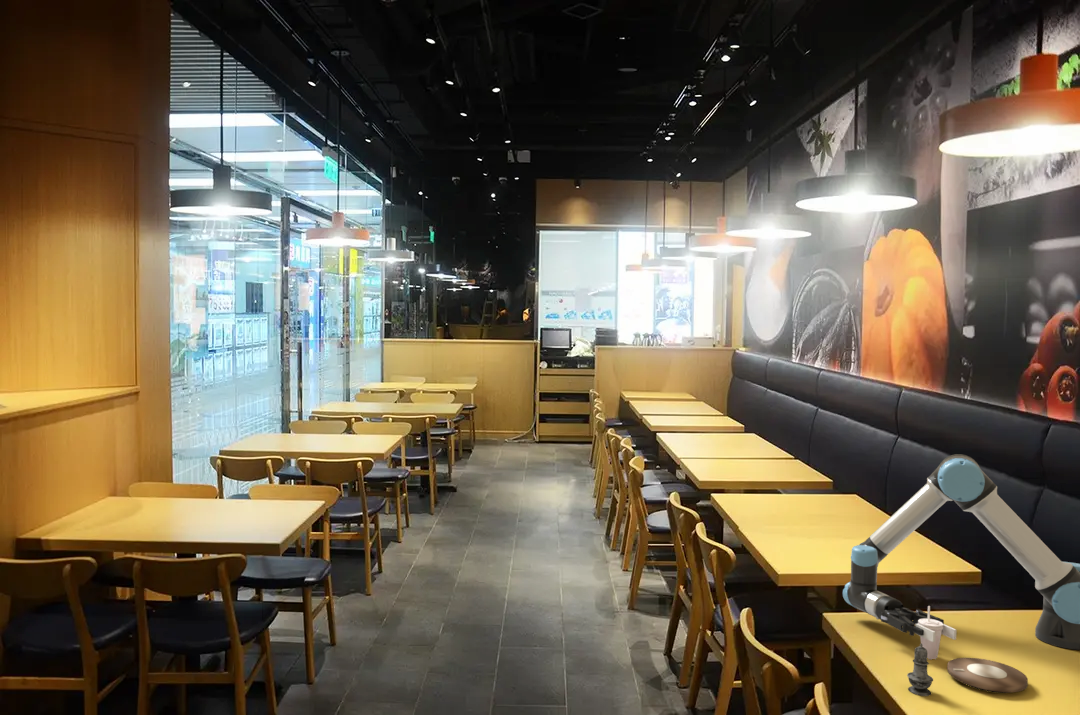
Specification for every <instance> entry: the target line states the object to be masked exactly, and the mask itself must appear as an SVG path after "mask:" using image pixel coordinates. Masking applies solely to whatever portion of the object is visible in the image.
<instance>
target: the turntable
mask: <svg viewBox="0 0 1080 715" xmlns="http://www.w3.org/2000/svg"><path fill="white" fill-rule="evenodd" d="M946 668H947V669H946V670H947V673H948V675H949V676H951V677H952V678H953V679H955V680H956V681H959V682H961V683H962V684H964V683H965V684H964V685H966V684H967V685H966V686H968V685H970V686H973V687H977V688H980V689H985V690H990V691H996V692H1011V693H1017V692H1022V691H1024V690H1026V689H1027V688H1028V686H1029V682H1028V681H1029V680H1028V679H1029V678H1028V677H1027V675H1026V674H1025V673H1024V672H1022V671H1021V670H1019V669H1018V668H1015V667H1013V666H1010V665H1007V664H1005V663H1001V662H1000V661H999V662H998V661H995V660H991V659H986V658H978V657H957V658H953V659H950V660H949V661H948V663H947V667H946ZM970 686H969V687H970ZM973 687H972V688H973Z"/></svg>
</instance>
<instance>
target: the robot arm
mask: <svg viewBox="0 0 1080 715" xmlns="http://www.w3.org/2000/svg"><path fill="white" fill-rule="evenodd" d="M926 480H927V481H926V483H925V484H924V486H922V487H921V488H920V489H919V490H918V491H917V492H915V494H913V496H911V497H910V499H908V500H907V501H906V502H905V503H904V504H903V505H902V506H901V507H900V508H898V509H897V511H895V512H894V513H893V514H892V515H891V516H890V517H889V518H888V519H887V520H886V521H885V522H883V524H881V525H880V526H879V527H878V528H877V529H876V530H875V531H874V532H873V533H872V534H871V535H870V536H869V537H867V539H865V540H864V541H863V542H861V543H859V544H856V545H854V546H852V548H851V554H850V559H851V560H850V581H849V582H847V583H846V584H845V585H844V588H843V589H842V597H843V599H844V601H845V603H847V604H848V605H850V606H852V607H853V608H855V609H857V610H858V611H859V610H860V611H862V612H864V613H866V614H868V615H870V616H873V617H874V618H876V620H880V622H882V623H885V624H888V625H889V626H891V627H893V628H895V630H898V631H900V632H902V633H903V634H907V633H909V636H911V637H913V636H914V637H915V634H916V635H917V636H919V637H920V636H921V637H923V638H925V639H927V640H930V641H932V642H935V631H932V630H930V629H928V628H926V627H924V626H922V625H920V624H918V620H919V619H923V618H927V619H928V612H925V611H923V610H921V609H920V608H916V609H915V611H914V610H911V609H909V608H907V607H905V606H904V605H903V602H901V601H900V600H899V599H896V597H895V598H894V597H892V596H890V595H888V594H886V593H884V592H882V591H879V590H877V587H878V586H877V585H878V582H877V581H878V580H877V579H878V567H879V564H880V563H881V562H882V561H883V560H884V559H885V558H886V557H887V556H888V555H889V554H890V553H891V552H892V551H893V550H895V549H896V547H898V546H899V545H900V544H901V543H903V541H905V539H907V538H908V537H909V536H910V535H911V534H912V533H914V531H915V530H917V529H918V528H919V527H920V526H921V525H923V523H924V522H925V521H927V520H928V519H929V518H930V517H931V516H932V515H933V514H934V513H935V512H936V511H937V510H939V508H941V507H942V506H943V505H944V504H946V502H949V501H950V502H952V501H954V502H955V504H957V506H959V508H960V509H961V510H962V511H963V512H967V513H968V512H969V513H972V514H973V515H974V516H975V517H976V518H977V520H979V522H980V523H982V524H983V526H985V528H986V529H987V530H988V531H989V532H990V533H991V534H992V535H993V536H994V537H995V538H996V540H998V542H999V543H1000V544H1001V545H1002V546H1003V547H1004V548H1005V549H1006V550H1007V551H1008V552H1009V553H1010V554H1011V556H1012V557H1014V559H1015V560H1016V561H1017V562H1018V563H1019V564H1020V565H1021V566H1022V567H1023V569H1025V571H1027V572H1028V573H1029V575H1030V576H1031V577H1032V578H1033V579H1034V580H1035V582H1034V587H1035V589H1036V590H1037V591H1038V593H1040V595H1042V596H1043V600H1042V601H1043V604H1042V612H1041V615H1040V617H1039V619H1038V621H1037V624H1036V626H1035V633H1034V634H1035V637H1036V638H1037V639H1038V640H1040V641H1042V642H1044V643H1046V644H1049V645H1051V646H1054V647H1057V648H1058V647H1059V648H1063V649H1068V650H1076V651H1077V650H1078V651H1080V563H1076V562H1070V561H1069V562H1068V561H1062V560H1061V559H1060V558H1059V557H1058V556H1057V555H1056V554H1055V553H1054V552H1053V551H1052V550H1051V549H1050V548H1049V547H1048V545H1046V544H1045V543H1044V542H1043V540H1041V538H1040V537H1039V536H1038V535H1037V534H1036V533H1035V532H1034V531H1033V530H1032V529H1031V528H1030V527H1029V526H1028V524H1026V523H1025V522H1024V521H1023V520H1022V519H1021V517H1020V516H1018V515H1017V513H1016V512H1015V511H1014V510H1013V509H1012V508H1011V507H1010V506H1009V505H1008V504H1007V503H1006V502H1005V501H1004V500H1003V498H1001V497H1000V496H999V494H998V486H997V484H995V482H993V480H992V479H991V478H989V476H988V475H987V474H986V473H985V472H984V471H983V470H982V469H981V467H980V465H979V464H978V462H977V461H976V460H975V459H974V458H972V457H971V456H968V455H966V454H957V453H956V454H952V455H948V456H947V457H945V458H944V459H943V460H942V461H941V462H940V464H939V465H938V466H937V468H935V469H934V470H933V472H932V473H931V474H930V475H929V476H928V477H927V478H926ZM930 619H934V620H937V621H940V622H942V623H943V627H944V628H943V629H942V632H941V635H942V636H945V637H947V638H949V639H951V640H954V641H955V640H957V629H955V628H953V627H952V626H949V625H947V624H945V620H944V619H943V618H941V617H937V616H935V615H933V614H930Z"/></svg>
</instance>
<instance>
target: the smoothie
mask: <svg viewBox="0 0 1080 715" xmlns="http://www.w3.org/2000/svg"><path fill="white" fill-rule="evenodd" d="M927 613H928V619H927V618H923V619H919V620H918V624H920V625H922V626H924V627H926V628H928V629H930V630H932V631H935V642H932V641H930V640H927V639H925V638H923V637H921V636H919V637H920V644H922V645H923V646H922V647H924V648H925V649H926V650H927V658H928V659H927V660H932V659H935V660H937V659H938V655H939V649H940V643H941V637H942V634H941V632H942V629H943V628H944V627H943V623H942V622H940V621H937V620H934V619H930V615H931V606H930V605H928V606H927ZM936 658H937V659H936Z"/></svg>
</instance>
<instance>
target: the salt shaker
mask: <svg viewBox="0 0 1080 715" xmlns="http://www.w3.org/2000/svg"><path fill="white" fill-rule="evenodd" d="M922 646H923V645H922V644H921V643H920V644H919V646H917V647H915V648H914V659H912V662H913V670H912V672H907V675H906V676H907V678H908V682H909V684H910V685H911V686H909V687H907V690H908V692H909V693H911V694H913V695H916V696H921V697H928V696H929V695H930V696H931V695H932V694H931V693H932V691H931V690H930V689H929V688H930V687H931V686H932V684H933V681H934V678H933V677H932V676H931V675H929V674H928V665H929V664H930V663H929V662H928V659H927V650H926V649H925V648H924V647H922ZM930 696H929V697H930Z"/></svg>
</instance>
